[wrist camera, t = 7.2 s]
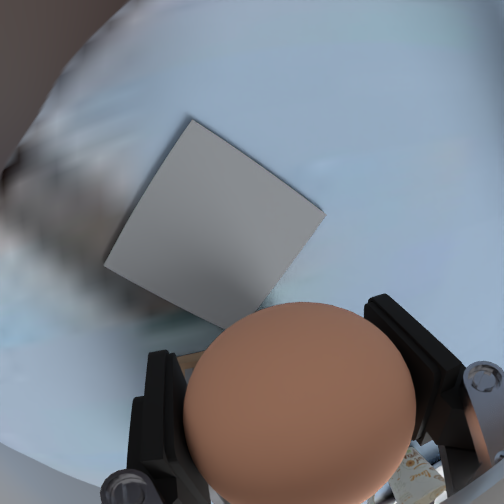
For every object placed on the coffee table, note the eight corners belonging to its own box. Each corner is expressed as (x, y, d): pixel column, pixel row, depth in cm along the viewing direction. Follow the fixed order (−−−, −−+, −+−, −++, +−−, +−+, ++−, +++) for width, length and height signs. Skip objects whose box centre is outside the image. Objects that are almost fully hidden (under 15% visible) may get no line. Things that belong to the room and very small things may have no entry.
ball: (252, 226, 9) (354, 375, 3) (385, 315, 11) (491, 427, 5) (149, 375, 10) (143, 542, 4) (285, 424, 12) (332, 547, 6)
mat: (192, 119, 18) (192, 119, 18) (324, 213, 22) (326, 214, 22) (104, 263, 20) (103, 265, 20) (236, 332, 24) (237, 335, 24)
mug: (425, 445, 41) (454, 484, 32) (369, 488, 43) (391, 528, 34) (409, 437, 38) (442, 482, 29) (346, 484, 40) (370, 531, 30)
